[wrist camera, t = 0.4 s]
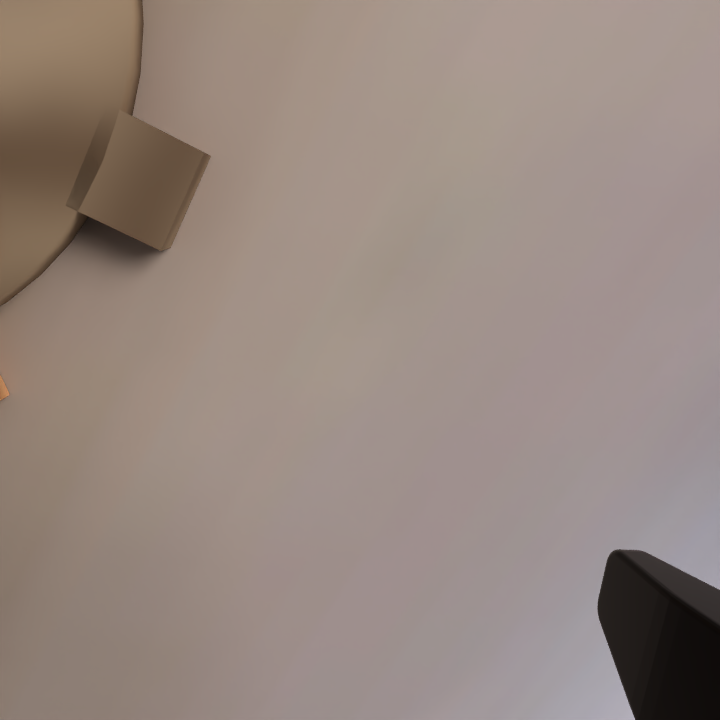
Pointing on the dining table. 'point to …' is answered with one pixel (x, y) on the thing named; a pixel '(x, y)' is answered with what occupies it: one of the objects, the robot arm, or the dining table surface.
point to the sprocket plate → (80, 136)
